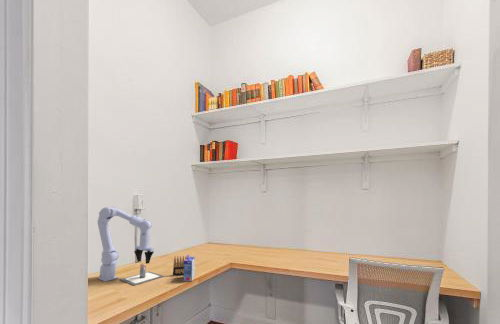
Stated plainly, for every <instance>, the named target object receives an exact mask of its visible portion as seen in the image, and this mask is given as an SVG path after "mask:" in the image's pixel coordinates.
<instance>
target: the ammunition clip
mask: <svg viewBox="0 0 500 324" xmlns="http://www.w3.org/2000/svg"><path fill="white" fill-rule="evenodd" d="M188 257H190V255H189V256H188ZM186 258H187V255H185V257H184V256H182V255H180V256H177V257H176V256H174V258H173V268H172V270H173V271H172V276H173V277H175V276H184V260H185V259H186Z"/></svg>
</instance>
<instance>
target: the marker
mask: <svg viewBox="0 0 500 324" xmlns="http://www.w3.org/2000/svg"><path fill="white" fill-rule="evenodd" d="M146 267H147V264H146V262H145V263H144V262H143V263H141V264H140V267H139V274H140V278H145V272H147V270H146V269H147V268H146Z"/></svg>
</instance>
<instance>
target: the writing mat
mask: <svg viewBox="0 0 500 324" xmlns="http://www.w3.org/2000/svg"><path fill="white" fill-rule="evenodd" d="M163 277H164V275H162V274H158V273H156V272H153V271H146V272H145V278H140V273H139V274H134V275H132V276H129V277H128V276H127V277H123V278H120V279H119V280H120V281H121V282H123V283H125V284H128V285H131V286H138V285H141V284H143V283H148V282H150V281H154V280H158V279H161V278H163Z"/></svg>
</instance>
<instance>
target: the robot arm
mask: <svg viewBox="0 0 500 324" xmlns="http://www.w3.org/2000/svg"><path fill="white" fill-rule="evenodd" d="M139 216H140V215H139V214H137V215H131V214H129V213H128V212H125V211H124V210H122V209H120V208H117V207H115V206H109V207H108V206H107V207H106V206H105V207H103V208H101V209H100V211H99V212H98V219H97V226H98V230H99V231H98V232H99V236H100V240H101V241H100V242H101V245H102V252H101V259H100V260H101V263H102V264H101V266H100V267H99V277H97V279H98V280H101V281H103V282H109V281H112V280H116V279H118V278H119V277H118V276H116V272H117V271H116V270H117V260H118V258H119V253H118V252H117V249H116V248H115V246H114V245H113V241H112V237H111V232H110V228H109V222H110V220H111V219H112V218H114V217H120V218H122V219H124V220H126V221H129V224H130V225H133V226H135V227H137V228H138V229H139V230H140V233H139V245H136V246H135V247H134V251H133V252H134V254H135V256H136V260H137V261H136V262H137V263H139V262H142V256H143V254H144V256H145V264H146V265H147V264H150V261H151V258H152V256H153V254H154V248H153V247H150V237H151V235H150V234H151V228H152V222H151V221H150V220H146V219H145V218H142V217H139ZM143 252H144V253H143Z"/></svg>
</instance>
